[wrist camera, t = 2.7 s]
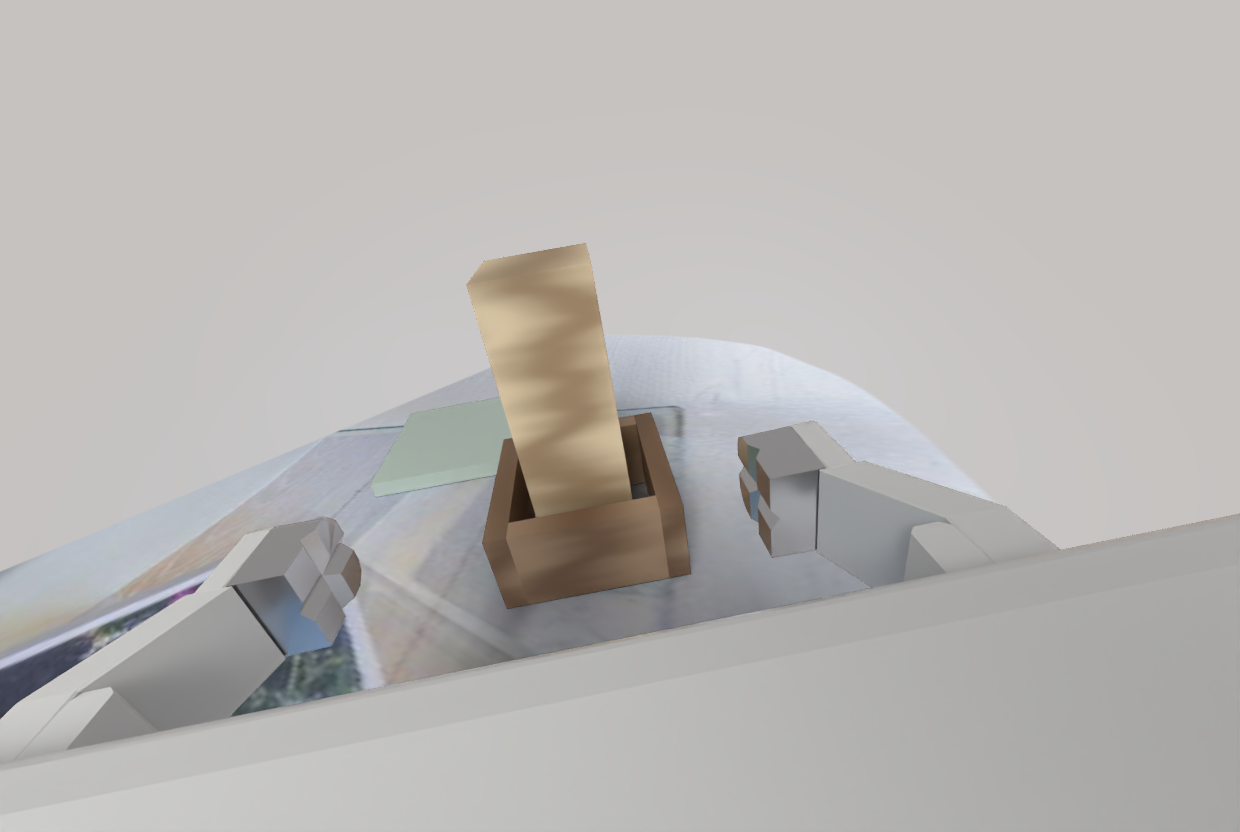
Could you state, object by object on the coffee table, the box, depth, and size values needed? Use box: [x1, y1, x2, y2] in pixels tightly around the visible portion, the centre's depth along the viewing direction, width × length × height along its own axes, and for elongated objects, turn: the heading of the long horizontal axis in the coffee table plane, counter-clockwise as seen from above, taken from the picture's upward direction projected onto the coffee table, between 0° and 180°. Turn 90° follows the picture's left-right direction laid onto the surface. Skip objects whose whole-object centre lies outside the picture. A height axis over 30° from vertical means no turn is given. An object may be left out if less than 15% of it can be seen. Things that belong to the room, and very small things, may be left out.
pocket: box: [482, 412, 691, 609], centre depth 25 cm, size 8×8×4 cm
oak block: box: [467, 243, 633, 518], centre depth 23 cm, size 4×4×14 cm
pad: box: [370, 397, 512, 497], centre depth 36 cm, size 10×10×1 cm
